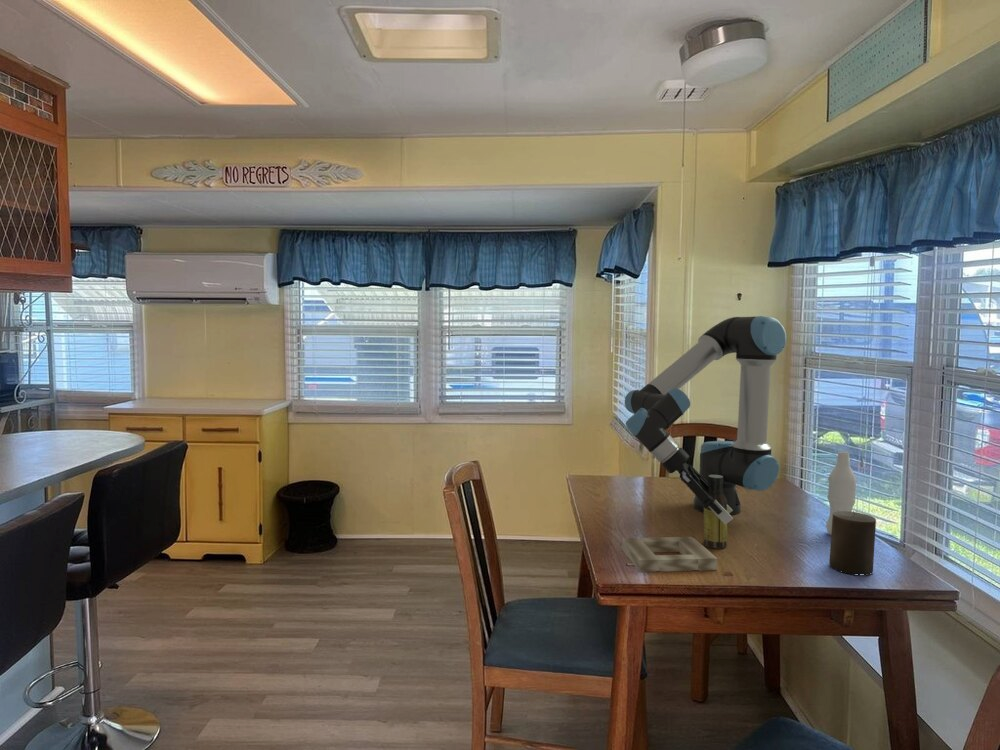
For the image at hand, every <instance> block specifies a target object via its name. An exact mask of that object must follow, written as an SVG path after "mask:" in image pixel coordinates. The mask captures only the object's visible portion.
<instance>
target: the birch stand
mask: <svg viewBox="0 0 1000 750" xmlns="http://www.w3.org/2000/svg"><path fill="white" fill-rule="evenodd" d="M621 550H622V552H623V553H624V554H625V556H627V558H628V559H629V560H630V562H631V563H632V564H633V565H634V566H636V567H635V568H636V569H637V570H638V572H640V573H649V572H650V573H652V572H654V573H655V572H656V571H660V572H686V571H687V572H692V571H691V570H699V571H718V557H717V556H715V555H714V554H713V553H712V552H710V550H709V549H707V548H706V547H705V546H704V545H702V544H701V543H700V542H699V541H698V540H697V539H695V538H694V537H693V536H674V537H673V536H669V537H667V536H665V537H663V536H662V537H660V536H659V537H622V538H621ZM670 552H671V553H672V552H673V553H674V552H677V553H679V554H661V555H660V554H655V553H670Z"/></svg>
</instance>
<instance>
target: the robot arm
mask: <svg viewBox="0 0 1000 750" xmlns="http://www.w3.org/2000/svg"><path fill="white" fill-rule="evenodd" d="M786 345H787V333H786V329H785V327H784V325H783V324H781V322H780V321H779V320H778V319H776V318H775V317H772V316H765V315H764V316H763V315H760V316H733V317H729V318H726V319H724V320H722V321H720V322H719V323H717V324H715V325H714V326H712V327H710V329H708V330H707V331H705V332H703V334H702V335H700V336H699V338H698V339H697V343H696V344H694V345H693V346H692V347H691V348H689V350H687V351H686V352H685V353H684V354H682V355H681V356H680V357H679V358H678V359H676V360H675V361H674V362H673V363H671V364H670V365H669V366H668V367H667V368H665V369H664V370H663V371H662V372H661V373H659V374H658V375H657V376H655V377H654V378H653V379H652V380H651V381H649V382H648V383H647V384H646V385H644V387H642V388H640V389H634V390H630V391H628V393H627V394H626V395H625V397H624V406H625V408H626V410H627V411H628V412H629V413H631V414H632V415H631V416H630V417H629V418H628V419H627V420H626V421H625V426H626V428H627V429H628V430H629V431H630V433H631V434H632V435H633V437H635V438H636V440H638V442H640V444H641V445H643V447H644V448H645V449H646V450H647V451H648V452H649V453H650V454H651V458H652V459H654V458H655V460H657V462H658V463H661V466H662V468H664V469H665V470H666V471H667V473H669V474H674V473H675V472H676V471H677V473H678V474H679V477H680V480H681V482H683V483H684V484H685V485H686V486H687V487H688V489H689V490H691V491H692V493H693V495H695V496H694V498H693V503H692V506H693V508H694V509H695V510H696V511H698V512H701V513H704V507H705V508H707V507H709V508H710V509H711V510H712V511H713V512H714V513H715V515H716V516H717V517H718V518H719V519H720V520H721V521H722V522H723V523H724V524H725V525H726V524H727V525H728V523H730V522H731V521H733V520H734V517H732V516H733V515H732V514H734V515H737V513H738V514H739V512H740V513H741V509H742V505H741V501H740V497H739V494H738V490H737V486H739V487H742V488H745V489H747V490H748V491H749V490H750V491H755V492H762V491H766V490H768V489H769V488H770V487H772V485H773V484H774V483H775V482H776V481H777V478H778V476H779V473H780V466H779V465H780V464H779V462H778V461H777V459H776V457H774V456H773V455H772V447H771V445H770V444H769V443H768V441H767V439H768V438H767V437H768V422H769V421H768V417H769V403H770V401H769V400H770V385H771V384H770V382H771V381H770V380H771V367H772V365H773V364H774V363H775V362H777V355H779V354H780V353H782V352H783V350H784V349H785V347H786ZM729 354H735V360H736V361H737V362H738V363H739V364H740V376H739V377H740V379H739V399H738V400H739V401H738V414H737V415H738V416H737V417H738V418H737V419H738V420H737V437H736V438H737V439H736V440H735V441H731V440H713V441H705V442H702V444H701V446H700V453H699V471H698V470H697V469H696V468H694V466H693V464H691V463H687V462H688V460H689V459H690V455H689V453H687V451H686V450H685V449H684V448H682V447H680V444H679V443H678V442H677V440H675V438H673V436H671V434H670V433H668V431H667V429H668V428H670V427H671V426H672V425H673V424H674V423H675V422H676V421H677V420H678V419H680V418H681V417H682V416H684V414H685V413H686V412H687V411H688V410H689V409H690V408H691V401H690V398H689V397H688V395H687V394H686V393H685V391H683V390H681V388H682V387H684V385H686V384H687V383H688V382H689V381H691V380H692V379H693V378H694V377H695V376H697V375H698V374H699V373H700V372H702V370H704V369H705V368H706V367H707V366H708V365H710V364H711V363H712V362H714V361H718V360H720V359H722V358H723V357H724V356H727V355H729ZM709 475H721V476H723V495H724V496H725V498H726V500H727V511H726V510H725V509H724V508H723V507H722V506H721V505H720V504H719V503H718V502H717V501H716V500H714V498H712V496H711V495H710V494H709V493H708V489H709V482H708V476H709ZM707 499H708V500H707Z"/></svg>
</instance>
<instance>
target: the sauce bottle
mask: <svg viewBox="0 0 1000 750" xmlns="http://www.w3.org/2000/svg"><path fill="white" fill-rule="evenodd" d="M708 482H709V489H708V493H709V494H710V495H711V496H712V498H714V500H716V501H717V502H718V503H719V504H720V505H721V506H722V507H723V508H724V509H725V510H726V511H727V500H726V498H725V496H724V495H723V476H721V475H709V476H708ZM707 500H708V499H707ZM703 540H704V541H703V543H704V545H705V546H706V547H707V546H708V548H711V549H714V548H715V549H717V550H721V549H724V548H726V547H727V541H728V523H727V524H726V525H725V524H724V523H723V522H722V521H721V520H720V519H719V518H718V517H717V516H716V515H715V513H714V512H713V511H712V510H711V509H710V508H709V507H707V508H705V507H704V512H703Z"/></svg>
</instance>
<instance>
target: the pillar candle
mask: <svg viewBox="0 0 1000 750" xmlns="http://www.w3.org/2000/svg"><path fill="white" fill-rule="evenodd" d="M876 525H877V519H876V518H875V517H873V516H872V515H870V514H865V513H861V512H858V511H857V512H856V511H854V510H852V512H849V511H836V512H833V518H832V532H831V535H830V545H829V546H830V550H829V559H828V560H829V562H828V563H829V566H830V567H831V568H832V569H833V570H835V569H836V571H837V570H839V571H838V572H840V571H842V572H841V573H843V572H846V573H845V574H847V573H850V574H849V575H852V574H858V575H860V574H864V575H866V574H870V573H872V572H873V573H874V560H875V558H874V557H875V545H876V543H875V542H876V540H875V539H876V529H877V528H876V527H877V526H876ZM873 573H872V574H873ZM858 575H857V576H858ZM866 576H867V575H866Z"/></svg>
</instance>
